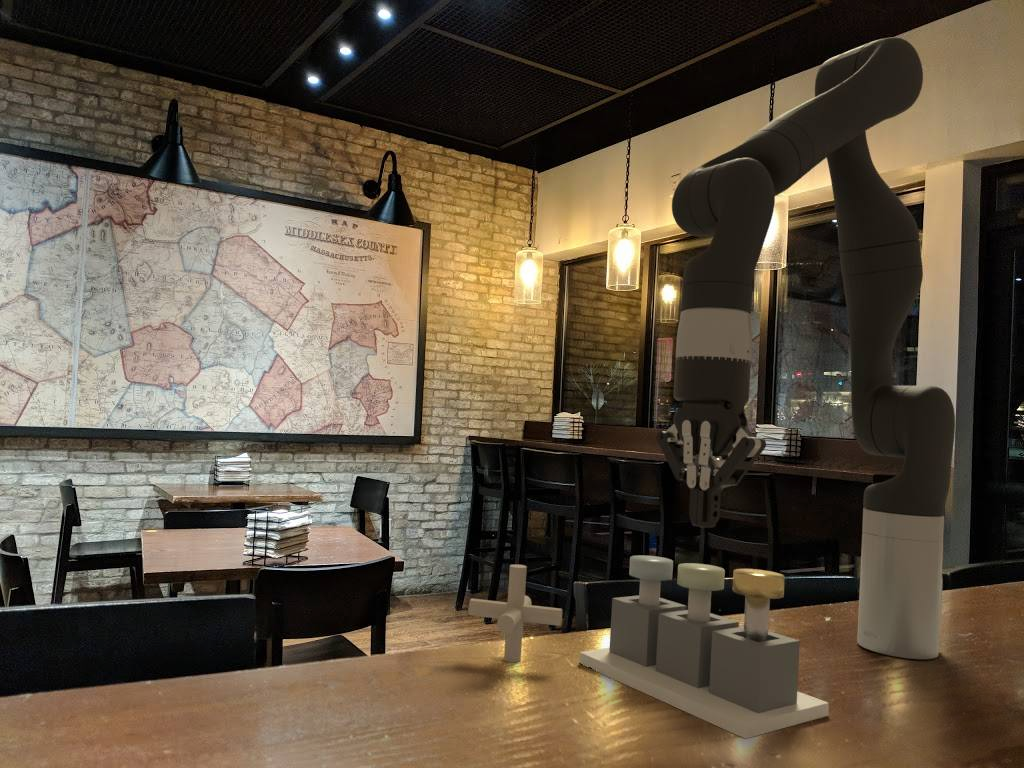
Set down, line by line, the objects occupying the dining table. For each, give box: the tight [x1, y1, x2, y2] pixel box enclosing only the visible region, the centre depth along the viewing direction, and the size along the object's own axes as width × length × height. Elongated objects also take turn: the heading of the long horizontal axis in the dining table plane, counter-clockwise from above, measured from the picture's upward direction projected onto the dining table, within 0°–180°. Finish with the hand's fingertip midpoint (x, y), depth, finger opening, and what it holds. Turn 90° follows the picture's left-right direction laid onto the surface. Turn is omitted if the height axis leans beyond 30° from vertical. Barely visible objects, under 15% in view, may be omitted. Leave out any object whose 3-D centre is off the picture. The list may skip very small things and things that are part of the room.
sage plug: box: [676, 562, 726, 623], centre depth 80 cm, size 5×5×8 cm
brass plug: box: [732, 568, 786, 642], centre depth 74 cm, size 5×5×8 cm
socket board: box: [578, 595, 830, 740], centre depth 80 cm, size 12×22×7 cm, turn 35°
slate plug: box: [628, 554, 674, 607], centre depth 86 cm, size 5×5×8 cm
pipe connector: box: [467, 564, 563, 663], centre depth 86 cm, size 10×10×10 cm
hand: (703, 526), depth 81 cm, fingers closed
